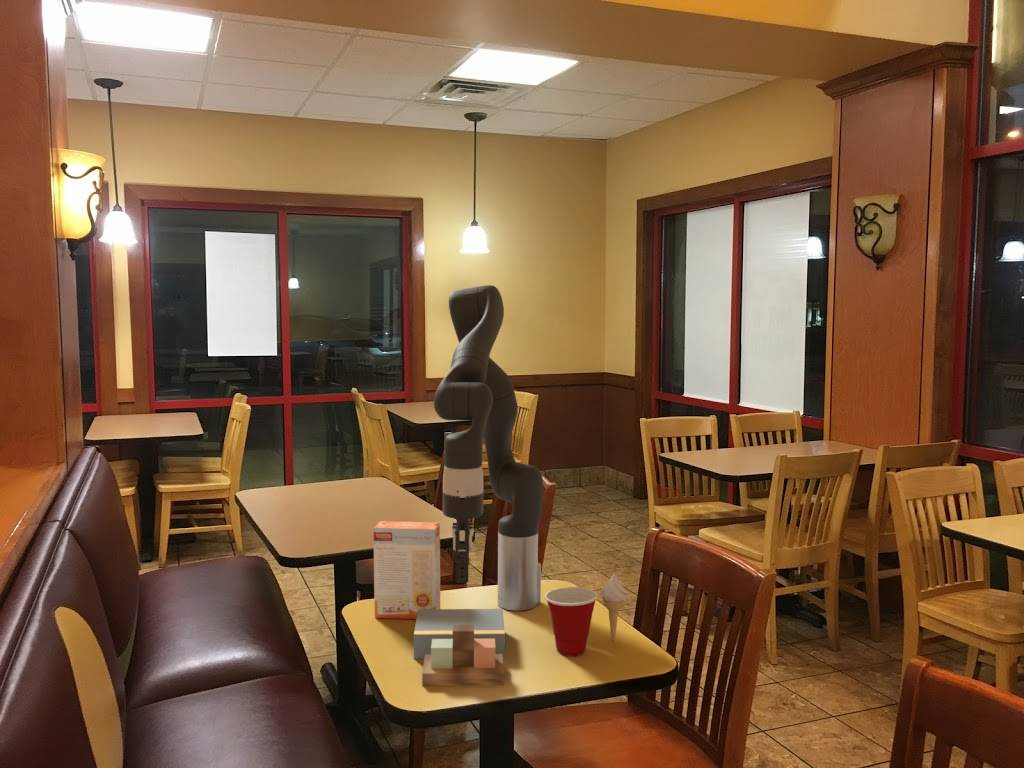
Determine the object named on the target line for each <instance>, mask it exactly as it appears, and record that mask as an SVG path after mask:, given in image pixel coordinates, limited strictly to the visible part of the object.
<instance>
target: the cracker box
mask: <svg viewBox="0 0 1024 768" xmlns="http://www.w3.org/2000/svg"><path fill="white" fill-rule="evenodd" d="M440 525H441V524H440V522H430V521H429V522H427V521H426V522H424V521H421V522H420V521H417V522H416V521H395V520H394V521H392V520H390V521H389V520H380V521H378V523H377V524H376V525H375V526H374V527H373V583H374V584H373V589H374V591H373V592H374V593H373V594H374V595H373V596H374V597H373V598H374V618H377V619H378V618H379V619H397V620H399V619H400V620H402V619H403V620H416V619H417V614H418V609H441V537H440V536H441V535H440V534H441V531H440V528H441V527H440Z"/></svg>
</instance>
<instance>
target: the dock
mask: <svg viewBox="0 0 1024 768" xmlns="http://www.w3.org/2000/svg"><path fill="white" fill-rule="evenodd" d="M453 625H474V639H495V654H502V657H503V659H505V658H506V657H505V653H506V652H505V651H506V647H505V646H506V645H505V644H506V638H505V637H506V632H505V630H506V629H505V620H504V608H452V609H451V608H443V609H441V608H440V609H418V614H417V619H415V626H414V631H413V659H414V660H424V658H425V654H431V644H432V639H453Z"/></svg>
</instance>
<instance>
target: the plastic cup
mask: <svg viewBox="0 0 1024 768" xmlns="http://www.w3.org/2000/svg"><path fill="white" fill-rule="evenodd" d="M598 596H599V594H598V593H597V591H595V590H593V589H590V588H588V587H580V586H578V587H577V586H575V587H573V586H568V587H567V586H566V587H558V588H555V589H551V590H549V591H547V592H545V595H544V599H545V600H546V602H547V605H548V610H549V613H550V619H551V624H552V625H551V626H552V631H553V635H554V640H555V641H554V642H555V647H556V650H557V652H558V653H559V654H560V655H564V656H568V657H576V656H577V657H578V656H581V655H583V654H584V653H585V651H586V650H587V649H586V648H587V645H588V644H587V643H588V638H589V635H590V628H591V623H592V618H593V617H592V616H593V612H594V608H595V605H596V600H597V599H598Z"/></svg>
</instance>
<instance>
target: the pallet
mask: <svg viewBox="0 0 1024 768" xmlns="http://www.w3.org/2000/svg"><path fill="white" fill-rule="evenodd" d="M503 660H504V658H503V657H502V654H495V668H474V625H453V668H431V654H425V658H424V659H423V666H422V673H421V674H422V675H421V679H422V681H421V682H422V685H421V686H422V687H427V686H428V687H432V686H433V687H441V686H443V687H444V686H445V687H448V686H449V687H451V686H452V687H453V686H504V680H505V679H504V661H503Z"/></svg>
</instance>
